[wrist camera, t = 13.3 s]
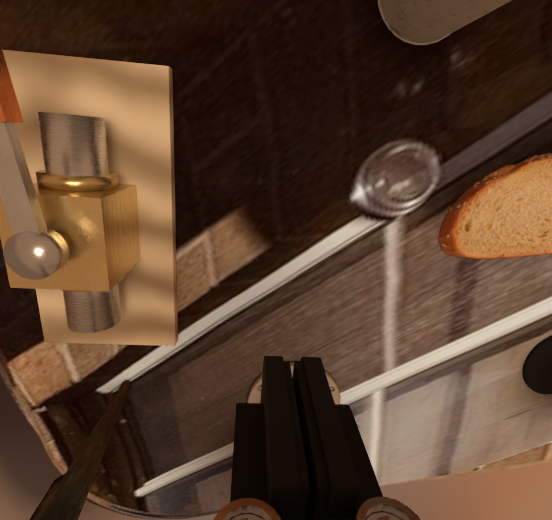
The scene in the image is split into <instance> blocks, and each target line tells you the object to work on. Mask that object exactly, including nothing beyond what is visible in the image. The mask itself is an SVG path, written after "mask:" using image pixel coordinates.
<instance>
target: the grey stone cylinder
mask: <svg viewBox="0 0 552 520" xmlns="http://www.w3.org/2000/svg"><path fill="white" fill-rule="evenodd" d="M509 1H511V0H378V7H379V10H380V13H381V16H382V19H383V21H384V22H385V24H386V26H387V27H388V29H389V30H390V31H391V32H392V33H393V34H394V35H395V36H396V37H397V38H399V39H401V40H402V41H404V42H406V43H410V44H414V45H428V44H431V43H435V42H438V41H440V40H442V39H443V38H445V37H447V36H449V35H450V34H451V33H452V32H454V31H456V30H458V29H460V28H462V27H463V26H465V25H467V24H469V23H471V22H473V21H474V20H476V19H478V18H480V17H482V16H484V15H485V14H487V13H489V12H491V11H493V10H495V9H497V8H498V7H500V6H502V5H504V4H506V3H508V2H509Z"/></svg>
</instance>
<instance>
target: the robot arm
mask: <svg viewBox="0 0 552 520" xmlns="http://www.w3.org/2000/svg"><path fill="white" fill-rule="evenodd" d="M214 520H420V518H419V517H418V515H416V514H415V513H414V512H413V511H412V510H411V509H410V508H409V507H407V506H406V505H404V504H403V503H401V502H399V501H397V500H395V499H391V498H388V497H383V496H382V493H381V490H380V487H379V484H378V482H377V479H376V476H375V473H374V471H373V468H372V465H371V462H370V460H369V457H368V454H367V451H366V449H365V446H364V443H363V441H362V438H361V435H360V432H359V430H358V427H357V424H356V421H355V419H354V416H353V413H352V411H351V408H350V407H349V406H348V405H342V404H340V393H339V390H338V387H337V384H336V382H335V381H334V379H333V378H332V376H331V375H330V374H329V373H328V372H326V371H325V370H324V367H323V364H322V361H321V358H318V357H302V358H301V361H300V362H283V357H281V356H264V362H263V374H262V375H260V376H259V377H258V378H257V379H256V381H255V382H254V384H253V385H252V387H251V389H250V392H249V396H248V403H237V404H236V419H235V435H234V451H233V467H232V483H231V498H230V503H229V504H227V505H226V506H225V507H223V508H222V509H221V510H220V511H219V513H218V514H217V515H216V517H215V518H214Z"/></svg>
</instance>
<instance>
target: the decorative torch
mask: <svg viewBox="0 0 552 520" xmlns="http://www.w3.org/2000/svg"><path fill="white" fill-rule="evenodd" d="M130 388H131V384H130V382H129V381H125V382H123V383H122V384H121V386H120V388H119V390H118V391H117V393H116V394H115V396H114V398H113V399H112V401H111V402H110V404H109V406H108V407H107V409H106V410H105V412H104V413H103V415H102V417H101V418H100V420H99V421H98V423H97V425H96V426H95V428H94V429H93V431H92V432H91V434H90V436H89V437H88V439H87V440H86V442H85V444H84V445H83V447H82V448H81V450H80V451H79V453H78V455H77V456H76V458H75V459H74V461H73V463H72V464H71V466H70V467H69V469H68V471H67V472H66V474H64V475H62V476H60V477H59V478H57V479H56V480H54V482H53V484H52V485H51V487H50V489H49V490H48V492H47V493H46V495H45V497H44V498H43V500H42V501H41V503H40V504H39V506H38V507H37V509H36V510H35V512H34V513H33V515H32V517H31V518H30V520H78V518H79V515H80V512H81V510H82V508H83V505H84V503H85V500H86V497H87V495H88V492H89V490H90V487H91V485H92V482H93V480H94V477H95V475H96V472H97V470H98V467H99V465H100V462H101V460H102V457H103V455H104V452H105V450H106V447H107V445H108V442H109V440H110V437H111V435H112V432H113V429H114V427H115V424H116V422H117V419H118V417H119V414H120V412H121V409H122V407H123V404H124V402H125V399H126V397H127V394H128V392H129V390H130Z"/></svg>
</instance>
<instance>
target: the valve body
mask: <svg viewBox="0 0 552 520" xmlns="http://www.w3.org/2000/svg"><path fill="white" fill-rule="evenodd" d="M37 117H38V124H39V131H40V138H41V145H42V152H43V159H44V166H45V170H39V171H36V178H37V182H36V183H33V185H34V188H35V191H36V195H37V198H38V201H39V204H40V208H41V211H42V214H43V217H44V220H45V224H46V227H47V228H50V229H52V230H54V231H56V232H57V233H59V234H60V235H61V236H62V237H63V238H64V240H65V241H66V243H67V245H68V248H69V258H68V261H67V263H66V264H65V265H64V266H63V267H62V268H60V269H59V270H57V271H56V272H54V273H53V274H51V275H50V276H48V277H46V278H44V279H40V280H30V279H26V278H23V277H21V276H19V275H17V274H16V273H15V272H13V271H12V270H11V269H10V268H9V266H8V265H7V263H6V261H5V263H6V268H7V273H8V278H9V283H10V287H11V288H34V289H58V290H62V291H63V298H64V305H65V312H66V319H67V326H68V328H69V329H70V330H71V331H73V332H77V333H96V332H100V331H104V330H107V329H110V328H112V327H114V326H115V325H117V324H118V323H119V322H120V320H121V309H120V297H119V285H118V284H119V283H120V282H122V281H123V280H124V278H125V275H126V274H127V273H128V272H129V271H130V270H131V269H132V267H133V266H134V265H135V264H136V263H137V262H138V261H139V260H140V259H141V257H140V240H139V222H138V205H137V188H136V185H131V184H118V174H117V173H115V172H110V171H109V165H108V153H107V141H106V128H105V118H99V117H91V116H81V115H71V114H60V113H48V112H37ZM11 236H13V232H12V229H11V226H10V223H9V220H8V217H7V215H6V212H5V209H4V206H3V203H2V200H1V197H0V237H1V242H2V247H3V248H4V245H5V243H6V241H7V240H8V239H9V238H10V237H11Z"/></svg>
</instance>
